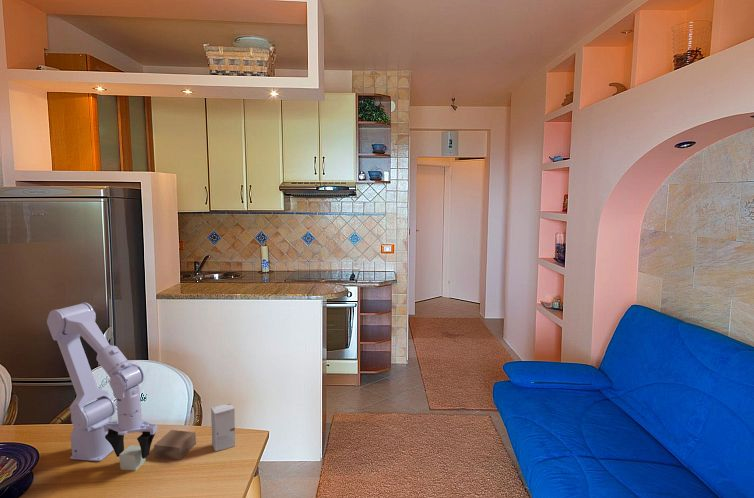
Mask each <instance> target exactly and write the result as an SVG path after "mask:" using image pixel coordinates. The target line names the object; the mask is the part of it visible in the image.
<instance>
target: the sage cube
mask: <svg viewBox="0 0 754 498" xmlns="http://www.w3.org/2000/svg"><path fill="white" fill-rule="evenodd" d="M146 458H147V457H146ZM146 458H145V459H143V458H142V455H141V447H140V445H133V444H130V445H129V446H128V447H126V448H124V451H123V452H122V453H121V454H120V455H119V468H120V470H124V471H137V470H138V469H139V468H140V467H141V466H143V464H144V463H145V462H146V461H147V459H146Z"/></svg>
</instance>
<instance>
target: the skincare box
mask: <svg viewBox="0 0 754 498" xmlns="http://www.w3.org/2000/svg"><path fill="white" fill-rule="evenodd" d="M210 412H211V413H210V414H211V415H210V418H211V419H210V420H211V421H210V422H211V445H212V448H213V449H214V451H215V452H219V451H222V450H226V449H230V448H234V447H235V446H236V426H235V425H236V417H235V407H234V406H233V404H232V403H231V402H229V403H225V404H220V405H217V406H211V407H210Z"/></svg>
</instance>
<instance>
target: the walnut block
mask: <svg viewBox="0 0 754 498" xmlns="http://www.w3.org/2000/svg"><path fill="white" fill-rule="evenodd" d="M196 445H197V435H196V432H195V431H186V430H177V429H176V430H175V429H171V430H169V431H168V432H167V433H166V434H165V435H164V436H163V437H161V439H160V440H159V439H158V441H157V442H156V443H155V444H154V457H155V458H164V459H171V460H182V459H183V458H184V457H185V456H186V455H187V454H188V453H189V452H190V451H191V450H192V449H193V448H194V447H195V446H196Z"/></svg>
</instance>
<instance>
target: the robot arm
mask: <svg viewBox="0 0 754 498" xmlns="http://www.w3.org/2000/svg"><path fill="white" fill-rule="evenodd" d="M96 315H97V314H96V311H95V310H94V308H93V306H92V305H91V304H90V303H88V302H81V303H79V304H74V305H71V306H66V307H62V308H60V309H59V308H58V309H53V310H51V311H50V312H49V313H48V315H47V319H46V324H47V328H48V330H49V333H50V335H51V338H52V340H53V341H57V344H58V347H59V351H60V352H61V355H62V358H63V360H64V363H65V367H66V369H67V372H68V375H69V378H70V379H71V383H72V387H73V388H74V392H75V394H76V397H75V398H74V400H73V401H72V403H71V404H70V405H69V412H70V420H71V421H70V422H71V424H72V426H73V428H72V430H71V432H70V445H71V454H72V455H71V456H70V457H69V459H71V460H81V461H92V462H101V461H103V460H104V459H105V458H106V457H107V456H108V455H109V454H110V453H112V452H114V453H115V456H116V457H119V458H120V456H119V455H120V454H121V453H122V452H123V451H124V450H125V441H124V439H125V436H126V435H127V434H133V433H141V434H140V435H139V436H138V437H137V438H136V440H137V442H138V444H139V446H140V447H141V455H142V458H143V459H145V458H147V457H148V456H149V455H150V450H151V446H152V442H153V440H154V437H155V435H156V433H157V432H158V430H159V429H158V424H154V423H151V422H147V421H145V420H143V418H142V417H143V415H142V405H141V403H142V402H141V389H140V388H141V387H140V384H142V383H143V381H144V380H145V379H144V378H145V376H144V372H143V369H142V368H141V366H139V364H136V363H134V362H133V361H130V360H128V359H127V357H126V356H125V355H124V353H123V352H122V351H121V350H120V348H119V347H118V346H117V345H110V343H109V341H108V340H107V337H105V335H104V334H103V332H102V330H101V329H100V327H99V325H98V324H97V323H96V319H97V317H96ZM81 338H82V339H83V340H84V341H85V342H86V343H87V344H88V345H89V346H90V347H91V348H92V349H93V350H94V352H95V353H97V355H96V361H97V362H98V364H99V365H100V367H101V368H102V369H103V370H104V371H105V373H106V375H108V377H109V378H110V379H109V381H108V383H109V387H110V388H111V391H112V393H113V397H114V398H115V401H114V399H113V398H112V397H111V395H110V394H109V391H108V390H105V389H102V388H98V385H97V382H96V380H95V376H94V375H93V372H92V369H91V366H90V364H89V360H88V358H87V355H86V353H85V352H86V351H85V350H84V347H83V345H82V344H83V343H82V342H81V341H82V340H81ZM116 411H117V412H116ZM115 413H117V421H112V419H113V418H112V416H114V414H115Z"/></svg>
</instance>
